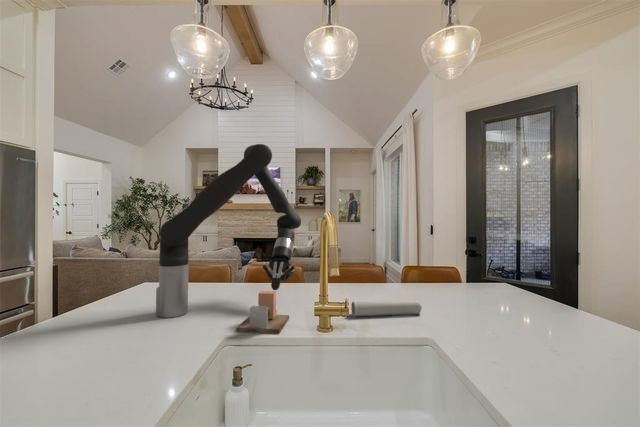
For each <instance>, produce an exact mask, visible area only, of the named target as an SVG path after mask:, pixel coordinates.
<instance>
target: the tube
mask: <svg viewBox="0 0 640 427" xmlns="http://www.w3.org/2000/svg"><path fill="white" fill-rule="evenodd" d="M422 308H423V307H422V305H421V303H420V302H419V301H417V300H414V299H413V300H384V301H383V300H382V301H381V300H379V301H377V300H376V301H352V302H351V308H350V310H351V316H353V318H356V317H378V316H381V317H383V316H403V315H405V316H406V315H409V316H410V315H418V314H421V311H422Z"/></svg>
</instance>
